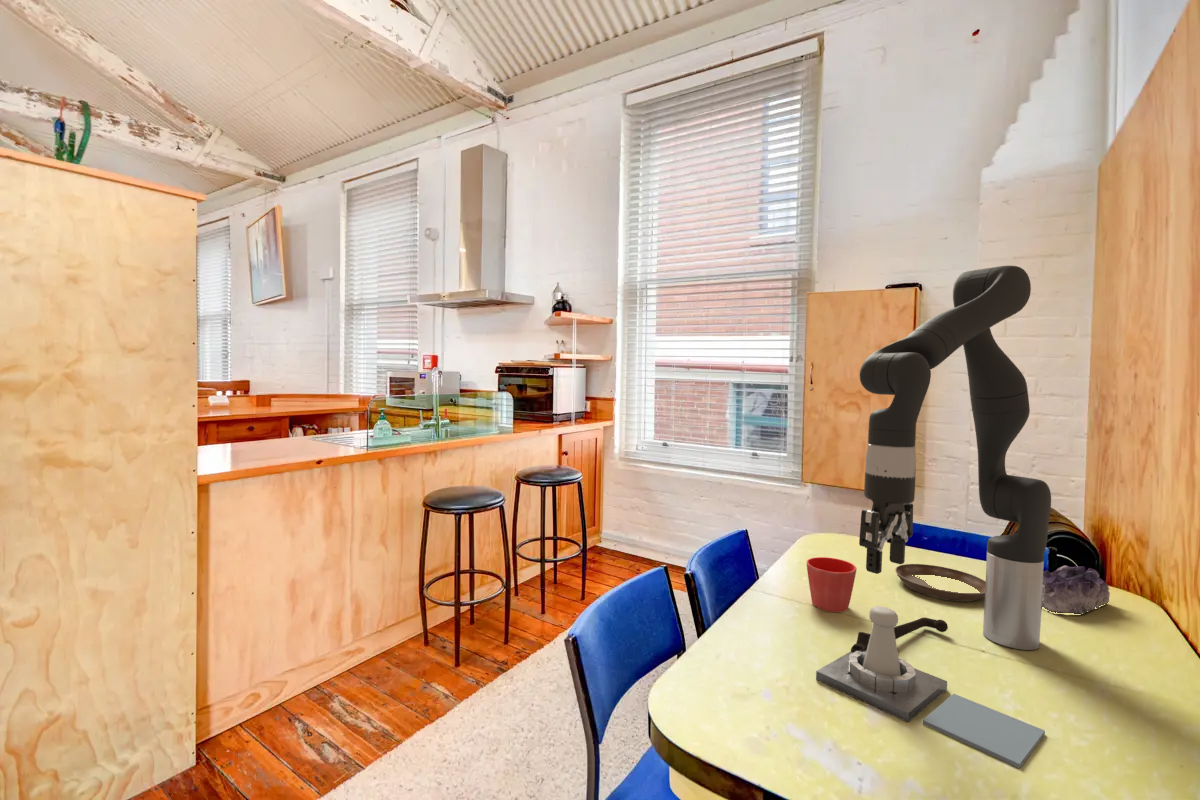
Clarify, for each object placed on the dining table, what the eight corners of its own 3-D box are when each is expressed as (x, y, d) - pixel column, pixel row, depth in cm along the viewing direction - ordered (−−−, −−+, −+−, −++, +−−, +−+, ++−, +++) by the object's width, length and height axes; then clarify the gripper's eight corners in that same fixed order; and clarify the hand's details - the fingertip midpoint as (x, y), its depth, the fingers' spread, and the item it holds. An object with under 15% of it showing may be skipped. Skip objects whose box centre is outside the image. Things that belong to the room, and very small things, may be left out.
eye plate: (858, 654, 105) (859, 636, 105) (946, 689, 93) (947, 669, 93) (816, 679, 96) (816, 659, 96) (908, 722, 84) (909, 699, 84)
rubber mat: (953, 697, 91) (953, 693, 91) (1044, 734, 82) (1044, 730, 82) (922, 723, 84) (923, 719, 84) (1019, 768, 74) (1019, 763, 74)
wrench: (950, 640, 114) (875, 674, 96) (923, 633, 118) (847, 664, 100) (949, 614, 114) (875, 643, 97) (923, 608, 118) (847, 634, 101)
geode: (1090, 626, 121) (1084, 579, 121) (1027, 614, 131) (1021, 570, 131) (1120, 603, 132) (1115, 561, 133) (1060, 594, 142) (1055, 554, 142)
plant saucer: (988, 586, 144) (989, 573, 144) (993, 613, 127) (993, 599, 126) (898, 570, 155) (898, 558, 155) (891, 593, 138) (891, 580, 138)
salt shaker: (904, 696, 91) (908, 618, 91) (867, 691, 92) (870, 614, 92) (893, 678, 97) (896, 604, 96) (858, 673, 98) (861, 600, 98)
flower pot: (804, 610, 125) (805, 567, 125) (805, 593, 135) (807, 554, 135) (856, 619, 121) (857, 575, 121) (853, 601, 131) (855, 560, 131)
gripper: (893, 479, 86) (889, 582, 87) (931, 471, 95) (927, 565, 95) (846, 472, 92) (842, 569, 92) (886, 465, 101) (882, 554, 101)
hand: (885, 567), depth 94 cm, fingers open, 8 cm apart
